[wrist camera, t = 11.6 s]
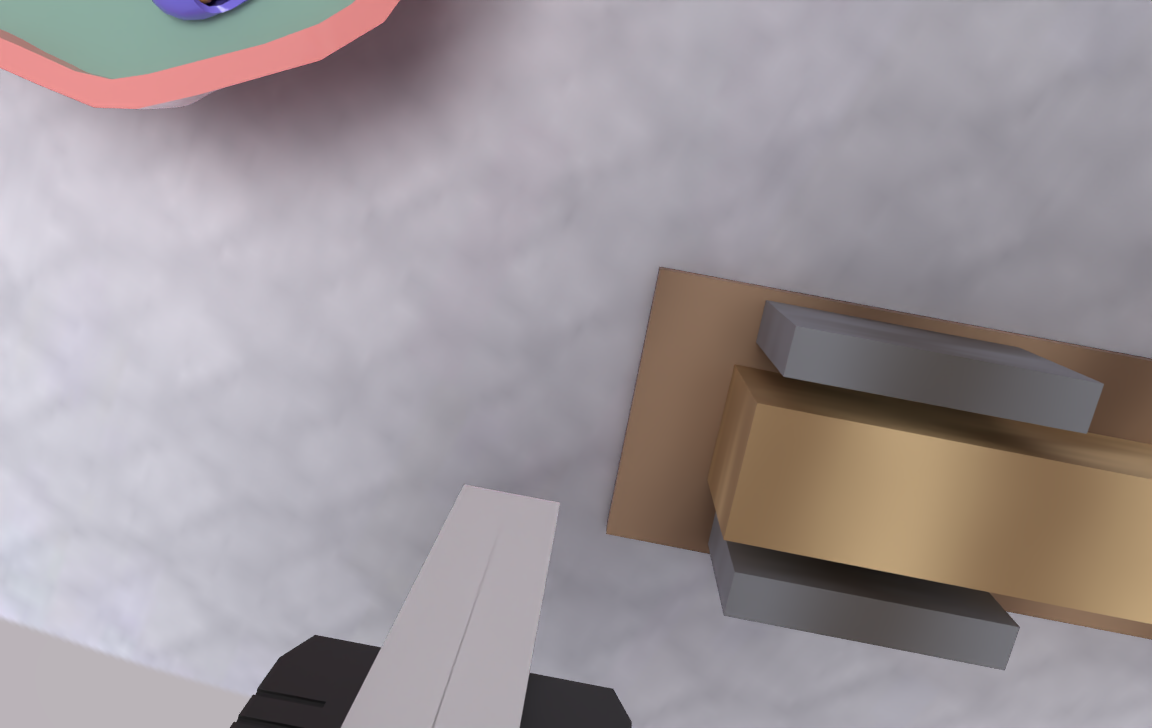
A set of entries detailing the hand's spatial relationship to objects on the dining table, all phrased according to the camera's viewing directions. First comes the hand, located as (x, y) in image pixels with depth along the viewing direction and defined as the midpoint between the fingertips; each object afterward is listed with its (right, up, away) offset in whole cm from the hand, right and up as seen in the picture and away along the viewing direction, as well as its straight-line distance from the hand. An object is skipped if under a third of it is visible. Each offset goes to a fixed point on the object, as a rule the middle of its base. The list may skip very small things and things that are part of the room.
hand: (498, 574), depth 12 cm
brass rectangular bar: (+12, 0, +10) cm, 16 cm away
